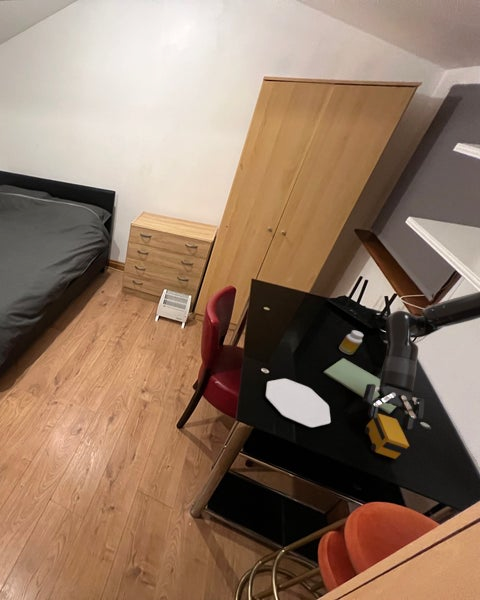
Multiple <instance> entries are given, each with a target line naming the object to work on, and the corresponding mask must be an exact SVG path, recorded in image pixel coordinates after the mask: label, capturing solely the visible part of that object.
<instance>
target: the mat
mask: <svg viewBox="0 0 480 600" xmlns="http://www.w3.org/2000/svg"><path fill="white" fill-rule="evenodd" d="M323 374H325V375H326V376H328V377H329V378H331V379H333V380H334V381H336V382H337V383H339V384H341V385H342V386H344V387H345V388H347V389H348V390H351V392H353V393H354V394H357V395H358V396H360V397H361V398H363V397H364V393H365V390H366V386H367V384H375V385H376V386H378V387H379V386H380V379H381V378H378V377H377V376H375V375H373V374H371V373H370V372H368V371H367V370H364V369H363V368H362V367H359V366H358V365H356V364H354V363H353V362H351V361H349V360H347V359H346V358H344V357H343V358H341V359H340V360H338V361H336V363H334V364H333V365H331V366H329V367H328V368H327V369H325V370H324V371H323ZM378 396H379V393H378V391H376V392H374V395H373V399H372V401H373V400H374V399H375V398H376V397H378ZM377 407H378V409H381V411H384V412H385V413H387V414H388V415H390V414H391V413H392V412H393V411H394V410H395V409H396V408H398V406H394V405H392V404H387V403H382V404H380V405H379V406H377Z"/></svg>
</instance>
